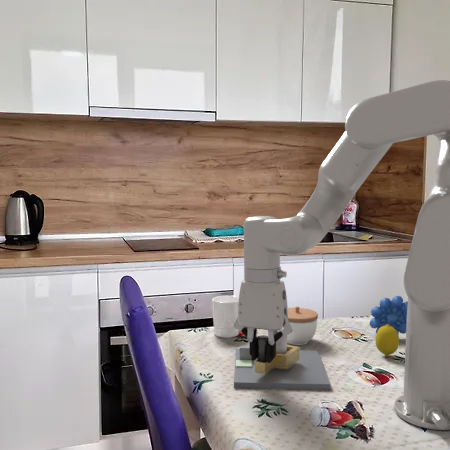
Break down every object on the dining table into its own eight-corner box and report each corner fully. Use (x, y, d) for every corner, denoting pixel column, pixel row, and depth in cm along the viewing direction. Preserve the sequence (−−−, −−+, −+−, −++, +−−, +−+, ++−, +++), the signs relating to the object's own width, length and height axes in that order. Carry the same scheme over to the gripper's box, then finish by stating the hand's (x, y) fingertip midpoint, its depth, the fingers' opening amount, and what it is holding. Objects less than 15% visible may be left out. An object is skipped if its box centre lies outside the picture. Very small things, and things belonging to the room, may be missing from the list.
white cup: (243, 330, 146) (243, 296, 145) (237, 339, 138) (237, 303, 137) (216, 328, 148) (216, 294, 147) (209, 337, 140) (209, 301, 139)
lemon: (380, 350, 130) (381, 319, 129) (401, 355, 127) (403, 324, 126) (371, 356, 126) (372, 325, 125) (393, 362, 122) (394, 329, 122)
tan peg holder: (274, 379, 108) (275, 342, 107) (245, 372, 111) (245, 336, 110) (299, 359, 118) (299, 326, 118) (271, 353, 122) (272, 321, 121)
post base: (329, 389, 107) (330, 345, 106) (233, 387, 108) (234, 343, 107) (316, 354, 127) (317, 317, 126) (236, 353, 128) (236, 315, 127)
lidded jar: (284, 349, 131) (284, 313, 130) (271, 336, 141) (272, 302, 140) (323, 346, 133) (324, 311, 132) (308, 333, 143) (309, 300, 142)
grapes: (413, 336, 141) (415, 293, 140) (414, 344, 135) (416, 299, 134) (369, 331, 145) (371, 290, 144) (368, 339, 139) (370, 295, 137)
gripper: (304, 274, 108) (304, 358, 110) (233, 269, 115) (234, 349, 117) (294, 281, 102) (295, 371, 103) (219, 276, 108) (221, 360, 110)
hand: (262, 358), depth 110 cm, fingers closed on tan peg holder, 2 cm apart
